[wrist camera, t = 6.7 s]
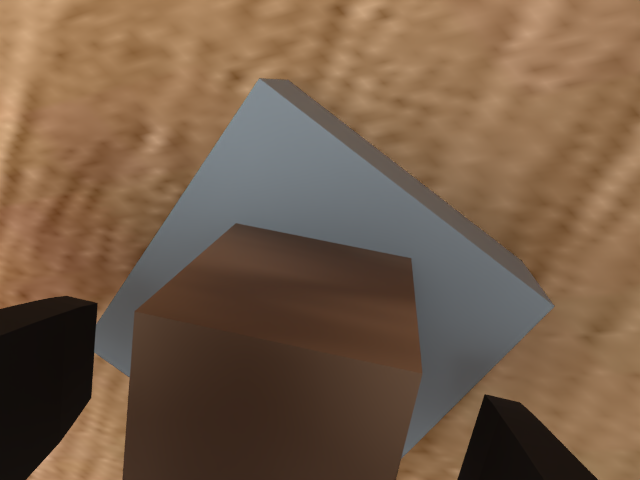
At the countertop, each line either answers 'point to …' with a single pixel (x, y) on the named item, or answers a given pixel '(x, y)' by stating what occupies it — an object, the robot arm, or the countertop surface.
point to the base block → (343, 239)
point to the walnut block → (275, 364)
